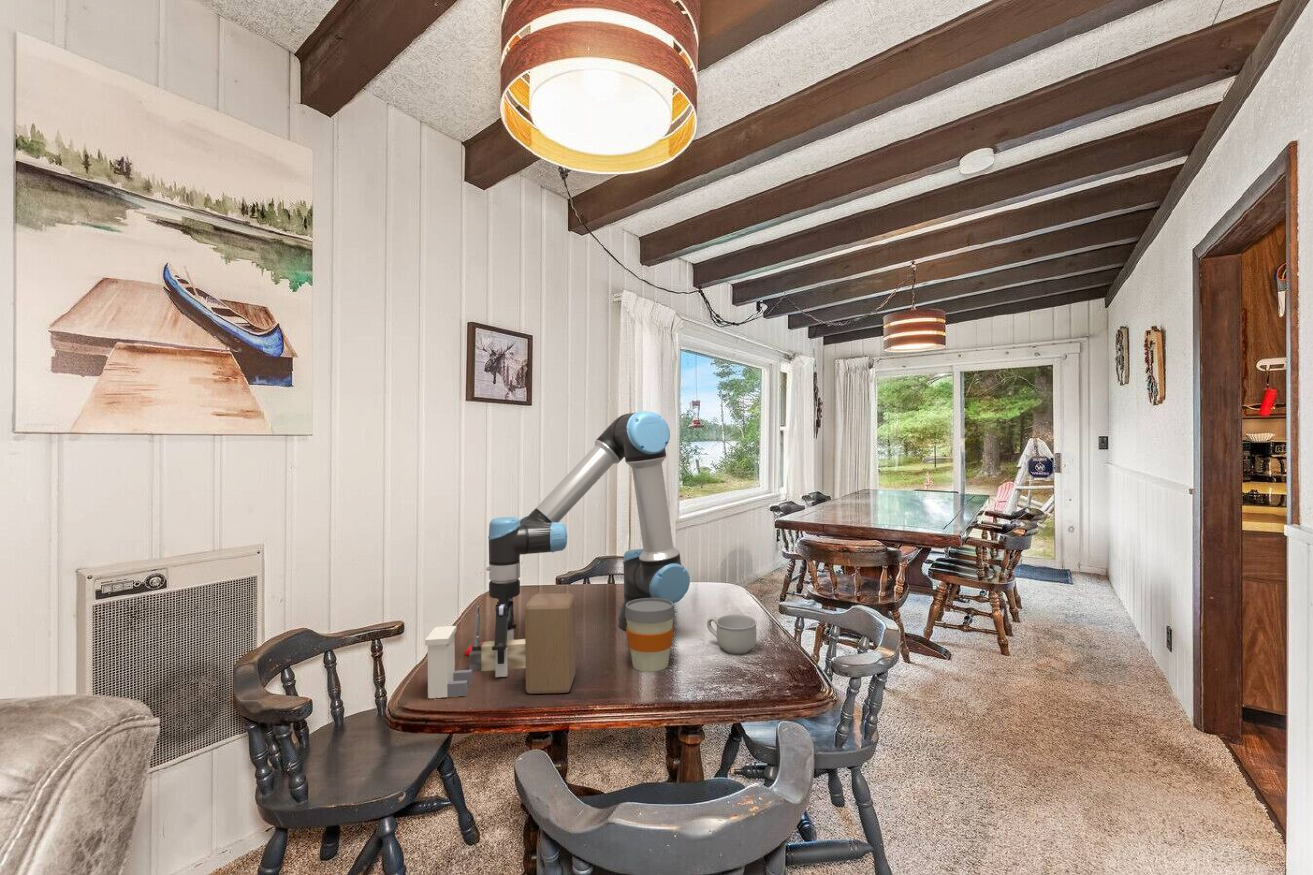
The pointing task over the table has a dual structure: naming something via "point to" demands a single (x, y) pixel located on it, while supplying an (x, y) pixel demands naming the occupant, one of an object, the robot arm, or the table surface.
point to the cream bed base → (445, 665)
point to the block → (550, 643)
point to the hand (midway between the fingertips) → (504, 665)
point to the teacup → (734, 632)
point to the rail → (486, 656)
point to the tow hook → (477, 643)
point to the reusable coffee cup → (650, 632)
